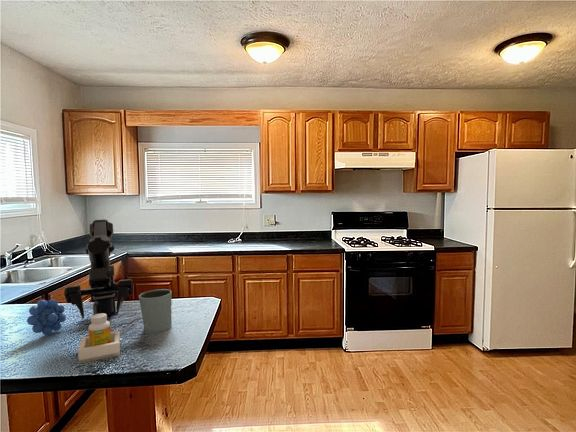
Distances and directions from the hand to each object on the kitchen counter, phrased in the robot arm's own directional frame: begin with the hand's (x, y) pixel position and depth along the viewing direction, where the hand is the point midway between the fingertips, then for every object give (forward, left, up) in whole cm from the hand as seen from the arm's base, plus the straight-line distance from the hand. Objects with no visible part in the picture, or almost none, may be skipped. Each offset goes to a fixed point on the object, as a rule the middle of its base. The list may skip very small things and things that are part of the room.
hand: (100, 315), depth 104 cm
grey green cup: (-15, +5, -9) cm, 18 cm away
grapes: (+6, -20, -9) cm, 23 cm away
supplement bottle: (+4, +6, -8) cm, 11 cm away
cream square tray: (+4, +6, -8) cm, 11 cm away
